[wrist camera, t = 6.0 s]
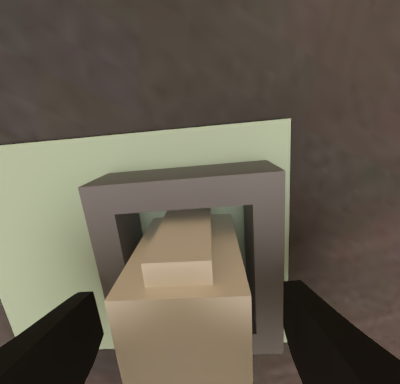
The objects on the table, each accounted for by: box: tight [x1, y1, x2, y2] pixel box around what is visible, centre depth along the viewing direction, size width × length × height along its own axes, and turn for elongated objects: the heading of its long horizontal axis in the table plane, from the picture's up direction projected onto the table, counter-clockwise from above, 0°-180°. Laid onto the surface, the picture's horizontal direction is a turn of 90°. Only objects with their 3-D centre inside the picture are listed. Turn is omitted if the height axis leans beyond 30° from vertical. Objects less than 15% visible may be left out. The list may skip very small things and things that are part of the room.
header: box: [0, 118, 291, 355], centre depth 12 cm, size 13×17×4 cm
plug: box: [104, 208, 253, 384], centre depth 10 cm, size 5×4×6 cm
